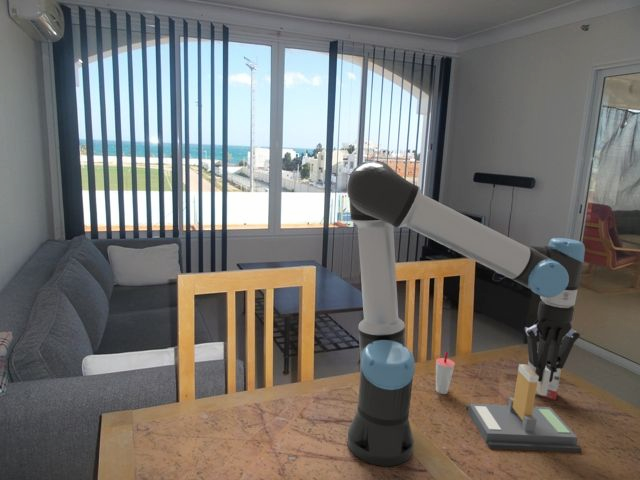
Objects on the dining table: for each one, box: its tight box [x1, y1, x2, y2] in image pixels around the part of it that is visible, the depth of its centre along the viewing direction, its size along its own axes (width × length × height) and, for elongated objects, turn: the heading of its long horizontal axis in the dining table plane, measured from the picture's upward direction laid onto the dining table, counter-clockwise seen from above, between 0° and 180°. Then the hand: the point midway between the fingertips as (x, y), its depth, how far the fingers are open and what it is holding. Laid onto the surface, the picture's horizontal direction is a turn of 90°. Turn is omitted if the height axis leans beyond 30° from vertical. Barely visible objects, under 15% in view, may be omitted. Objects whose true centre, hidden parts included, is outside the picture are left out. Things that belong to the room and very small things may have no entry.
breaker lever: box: [512, 363, 539, 420], centre depth 115 cm, size 2×6×13 cm, turn 1°
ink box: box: [527, 360, 562, 400], centre depth 134 cm, size 9×5×12 cm, turn 58°
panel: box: [467, 396, 578, 445], centre depth 116 cm, size 22×13×6 cm, turn 91°
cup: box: [435, 351, 456, 395], centre depth 131 cm, size 5×5×12 cm
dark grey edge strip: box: [487, 442, 582, 453], centre depth 109 cm, size 22×1×1 cm, turn 91°
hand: (540, 392), depth 115 cm, fingers closed
